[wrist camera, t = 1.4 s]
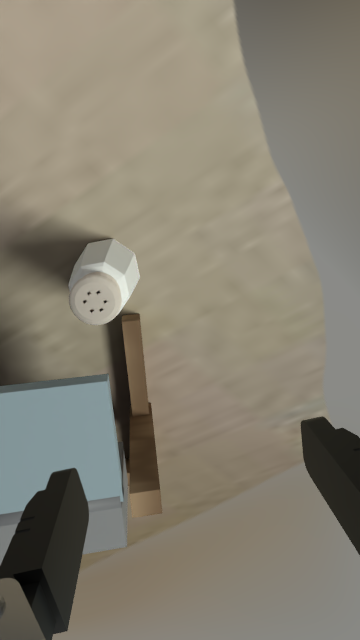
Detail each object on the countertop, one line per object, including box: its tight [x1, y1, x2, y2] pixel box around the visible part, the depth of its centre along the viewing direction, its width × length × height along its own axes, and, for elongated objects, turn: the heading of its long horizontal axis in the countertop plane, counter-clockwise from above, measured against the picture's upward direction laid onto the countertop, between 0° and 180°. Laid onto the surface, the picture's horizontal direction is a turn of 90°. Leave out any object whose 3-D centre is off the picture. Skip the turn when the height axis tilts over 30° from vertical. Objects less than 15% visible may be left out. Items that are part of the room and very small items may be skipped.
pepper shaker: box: [69, 239, 140, 325], centre depth 24 cm, size 5×5×11 cm
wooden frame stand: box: [122, 314, 162, 518], centre depth 26 cm, size 19×16×11 cm
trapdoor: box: [0, 374, 128, 565], centre depth 24 cm, size 14×13×7 cm
